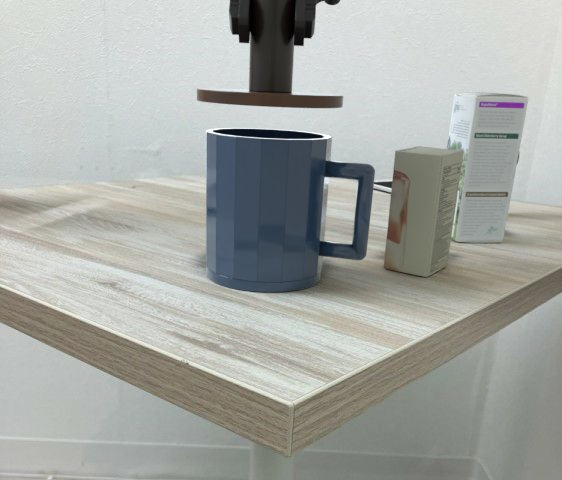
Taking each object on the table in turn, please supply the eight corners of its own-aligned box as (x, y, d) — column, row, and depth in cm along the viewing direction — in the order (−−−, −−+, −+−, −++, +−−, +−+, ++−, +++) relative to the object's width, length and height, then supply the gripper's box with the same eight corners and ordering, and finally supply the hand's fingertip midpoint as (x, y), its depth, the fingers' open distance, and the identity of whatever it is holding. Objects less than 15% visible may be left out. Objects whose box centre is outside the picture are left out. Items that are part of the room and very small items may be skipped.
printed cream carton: (404, 258, 61) (419, 145, 56) (448, 267, 58) (467, 150, 54) (379, 268, 57) (393, 148, 53) (425, 278, 55) (443, 154, 50)
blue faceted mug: (188, 283, 50) (186, 132, 46) (229, 255, 58) (231, 126, 54) (352, 305, 47) (368, 146, 43) (371, 272, 55) (386, 137, 51)
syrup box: (504, 243, 69) (533, 95, 62) (452, 242, 68) (476, 92, 62) (481, 231, 74) (505, 93, 68) (432, 230, 73) (452, 90, 67)
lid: (172, 100, 44) (168, -36, 41) (227, 98, 54) (227, -13, 50) (325, 110, 42) (335, -35, 38) (354, 105, 51) (364, -11, 48)
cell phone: (395, 182, 105) (395, 178, 105) (467, 199, 93) (468, 195, 93) (357, 184, 101) (357, 180, 101) (427, 202, 89) (428, 197, 89)
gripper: (185, -195, 46) (160, -21, 40) (381, -185, 46) (383, -10, 40) (196, -89, 53) (176, 72, 47) (366, -81, 53) (366, 82, 48)
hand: (271, 33), depth 44 cm, fingers closed on lid, 3 cm apart
